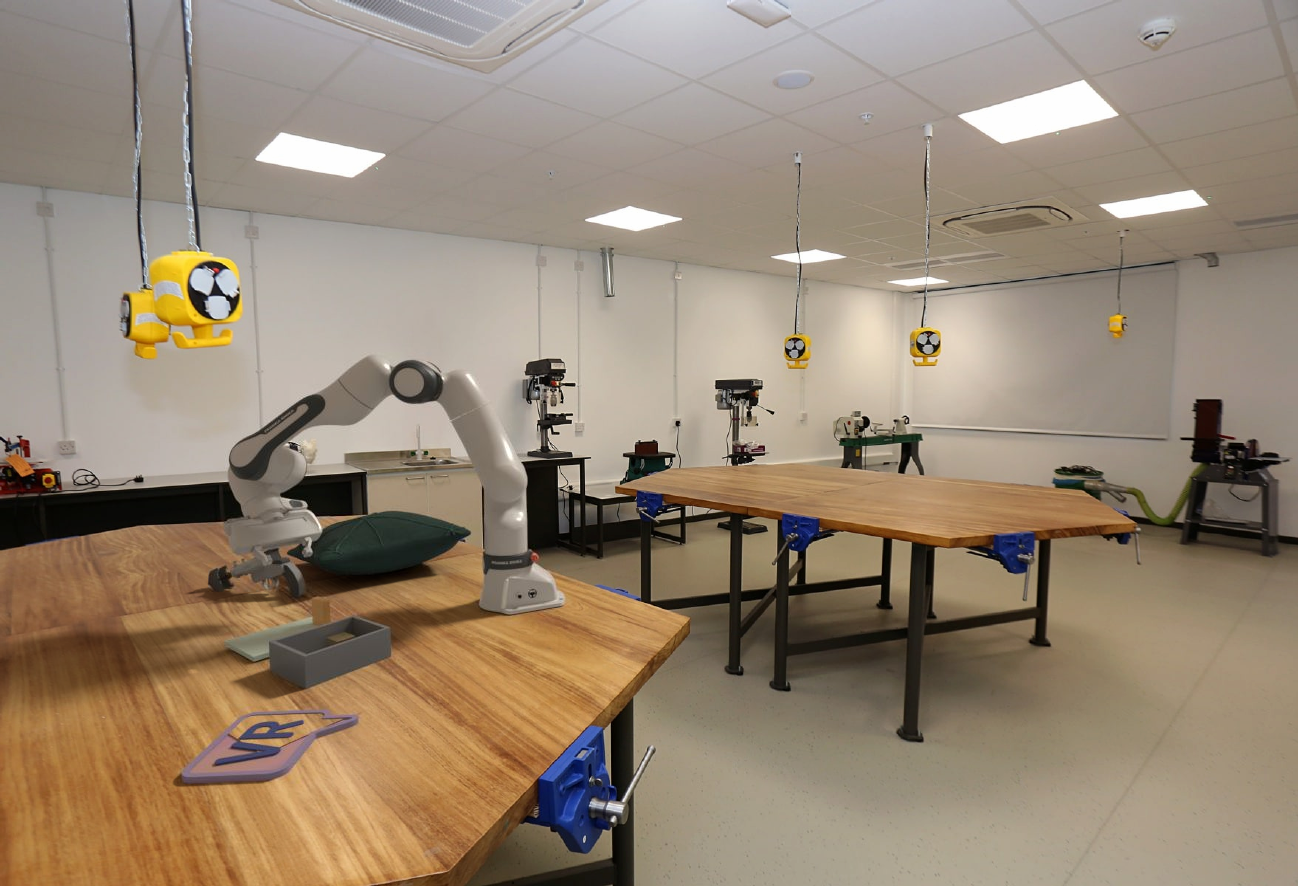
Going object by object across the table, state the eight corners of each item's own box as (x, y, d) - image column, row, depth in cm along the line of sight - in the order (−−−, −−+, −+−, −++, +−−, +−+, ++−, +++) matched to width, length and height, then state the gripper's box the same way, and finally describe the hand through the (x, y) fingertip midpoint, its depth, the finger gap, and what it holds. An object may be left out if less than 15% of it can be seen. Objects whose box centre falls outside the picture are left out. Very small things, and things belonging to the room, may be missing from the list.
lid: (313, 626, 156) (311, 592, 155) (344, 640, 147) (343, 603, 147) (224, 652, 140) (222, 613, 140) (254, 668, 132) (252, 628, 131)
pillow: (316, 523, 173) (279, 524, 206) (324, 592, 173) (285, 581, 206) (469, 500, 202) (415, 504, 235) (476, 559, 202) (421, 555, 235)
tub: (355, 646, 143) (354, 615, 143) (391, 660, 136) (390, 627, 135) (270, 676, 128) (268, 641, 128) (306, 693, 121) (304, 656, 120)
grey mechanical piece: (298, 596, 174) (277, 541, 174) (220, 627, 181) (199, 574, 181) (313, 590, 179) (292, 537, 180) (237, 621, 186) (217, 569, 187)
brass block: (345, 650, 139) (344, 631, 139) (356, 654, 137) (355, 635, 136) (327, 656, 136) (326, 637, 135) (337, 660, 133) (337, 642, 133)
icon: (319, 771, 95) (173, 777, 93) (319, 781, 95) (174, 787, 93) (364, 708, 114) (244, 712, 112) (365, 716, 114) (245, 720, 112)
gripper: (224, 512, 148) (246, 560, 144) (311, 500, 166) (334, 543, 161) (215, 529, 151) (237, 577, 147) (302, 515, 168) (325, 558, 164)
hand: (289, 559), depth 154 cm, fingers open, 8 cm apart
